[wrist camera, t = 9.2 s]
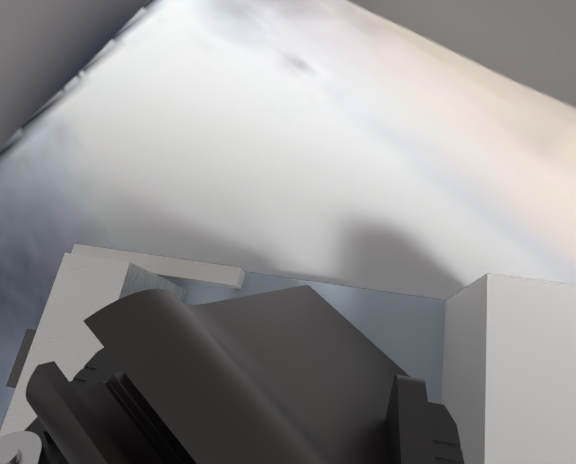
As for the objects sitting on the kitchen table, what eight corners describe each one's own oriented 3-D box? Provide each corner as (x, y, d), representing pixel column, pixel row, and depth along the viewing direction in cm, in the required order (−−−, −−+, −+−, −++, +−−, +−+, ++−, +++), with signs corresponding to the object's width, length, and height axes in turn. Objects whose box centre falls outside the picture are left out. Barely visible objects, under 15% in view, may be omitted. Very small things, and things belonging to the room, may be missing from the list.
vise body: (501, 313, 20) (581, 285, 13) (499, 597, 16) (609, 759, 10) (97, 254, 24) (1, 210, 17) (24, 469, 21) (-130, 519, 14)
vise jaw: (186, 289, 21) (130, 262, 16) (139, 475, 18) (50, 522, 13) (105, 277, 22) (23, 246, 16) (48, 451, 19) (-72, 486, 14)
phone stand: (309, 285, 18) (259, 148, 7) (414, 381, 16) (585, 410, 5) (167, 438, 17) (-191, 581, 5) (264, 563, 15) (20, 1186, 4)
